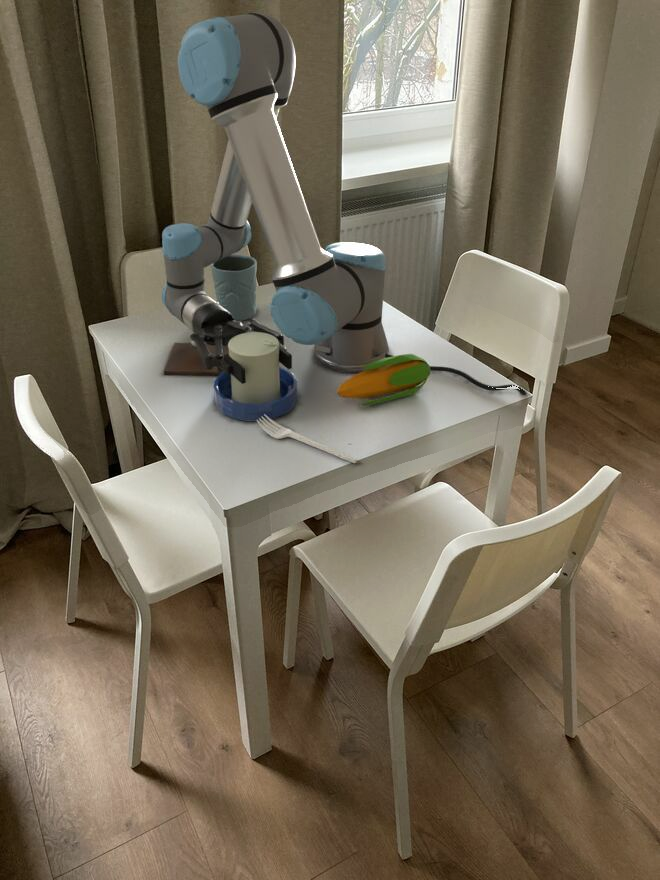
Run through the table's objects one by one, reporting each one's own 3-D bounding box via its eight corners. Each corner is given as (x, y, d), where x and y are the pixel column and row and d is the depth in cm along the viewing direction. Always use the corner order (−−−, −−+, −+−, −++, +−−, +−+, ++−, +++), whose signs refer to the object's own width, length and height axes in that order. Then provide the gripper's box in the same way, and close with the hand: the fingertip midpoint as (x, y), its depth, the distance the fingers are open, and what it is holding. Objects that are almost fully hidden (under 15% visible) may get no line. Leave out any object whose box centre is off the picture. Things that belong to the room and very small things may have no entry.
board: (260, 347, 156) (260, 344, 156) (255, 376, 147) (255, 373, 146) (175, 345, 157) (174, 342, 156) (164, 374, 147) (163, 371, 146)
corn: (441, 356, 138) (348, 381, 130) (439, 392, 142) (348, 419, 134) (418, 342, 144) (328, 365, 136) (417, 377, 148) (328, 402, 140)
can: (279, 412, 136) (277, 354, 129) (228, 411, 136) (224, 353, 129) (282, 386, 143) (281, 329, 136) (234, 385, 143) (230, 328, 136)
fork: (350, 469, 123) (351, 460, 122) (255, 429, 132) (254, 421, 131) (361, 459, 125) (361, 450, 124) (266, 421, 134) (266, 412, 133)
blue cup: (231, 326, 164) (228, 275, 157) (205, 311, 170) (201, 261, 163) (268, 313, 170) (266, 263, 163) (241, 299, 176) (238, 250, 169)
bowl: (298, 379, 146) (298, 363, 144) (294, 423, 134) (294, 406, 131) (221, 378, 146) (219, 362, 144) (209, 421, 134) (208, 404, 132)
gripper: (257, 324, 154) (318, 371, 139) (160, 351, 144) (213, 405, 129) (256, 291, 150) (318, 335, 134) (155, 316, 140) (210, 367, 124)
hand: (267, 369), depth 132 cm, fingers closed on can, 9 cm apart
